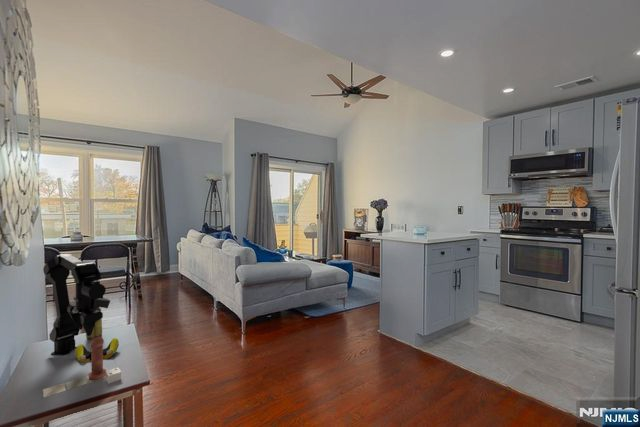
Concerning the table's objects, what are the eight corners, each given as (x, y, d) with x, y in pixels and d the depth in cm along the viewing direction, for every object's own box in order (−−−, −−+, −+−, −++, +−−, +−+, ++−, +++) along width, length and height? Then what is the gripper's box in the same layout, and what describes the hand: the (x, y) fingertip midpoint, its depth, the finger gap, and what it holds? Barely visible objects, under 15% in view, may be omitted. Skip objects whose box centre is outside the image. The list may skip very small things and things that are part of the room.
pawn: (86, 381, 109) (85, 341, 108) (91, 373, 114) (91, 335, 113) (103, 378, 111) (103, 339, 110) (107, 371, 116) (107, 333, 115)
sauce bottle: (101, 333, 149) (101, 294, 148) (102, 338, 144) (102, 297, 143) (84, 337, 145) (84, 296, 144) (85, 342, 140) (85, 300, 139)
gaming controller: (76, 356, 128) (72, 368, 119) (76, 343, 128) (72, 354, 119) (118, 348, 136) (118, 358, 127) (118, 336, 136) (118, 345, 127)
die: (107, 386, 108) (107, 375, 108) (105, 381, 111) (105, 371, 111) (121, 382, 111) (121, 371, 111) (118, 377, 114) (118, 367, 114)
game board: (41, 402, 99) (41, 399, 99) (39, 386, 107) (39, 382, 107) (110, 379, 112) (110, 376, 112) (104, 366, 121) (104, 363, 121)
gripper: (117, 294, 122) (117, 331, 123) (98, 285, 133) (98, 320, 134) (84, 301, 113) (84, 341, 114) (66, 291, 124) (67, 328, 124)
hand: (84, 332), depth 122 cm, fingers open, 9 cm apart
